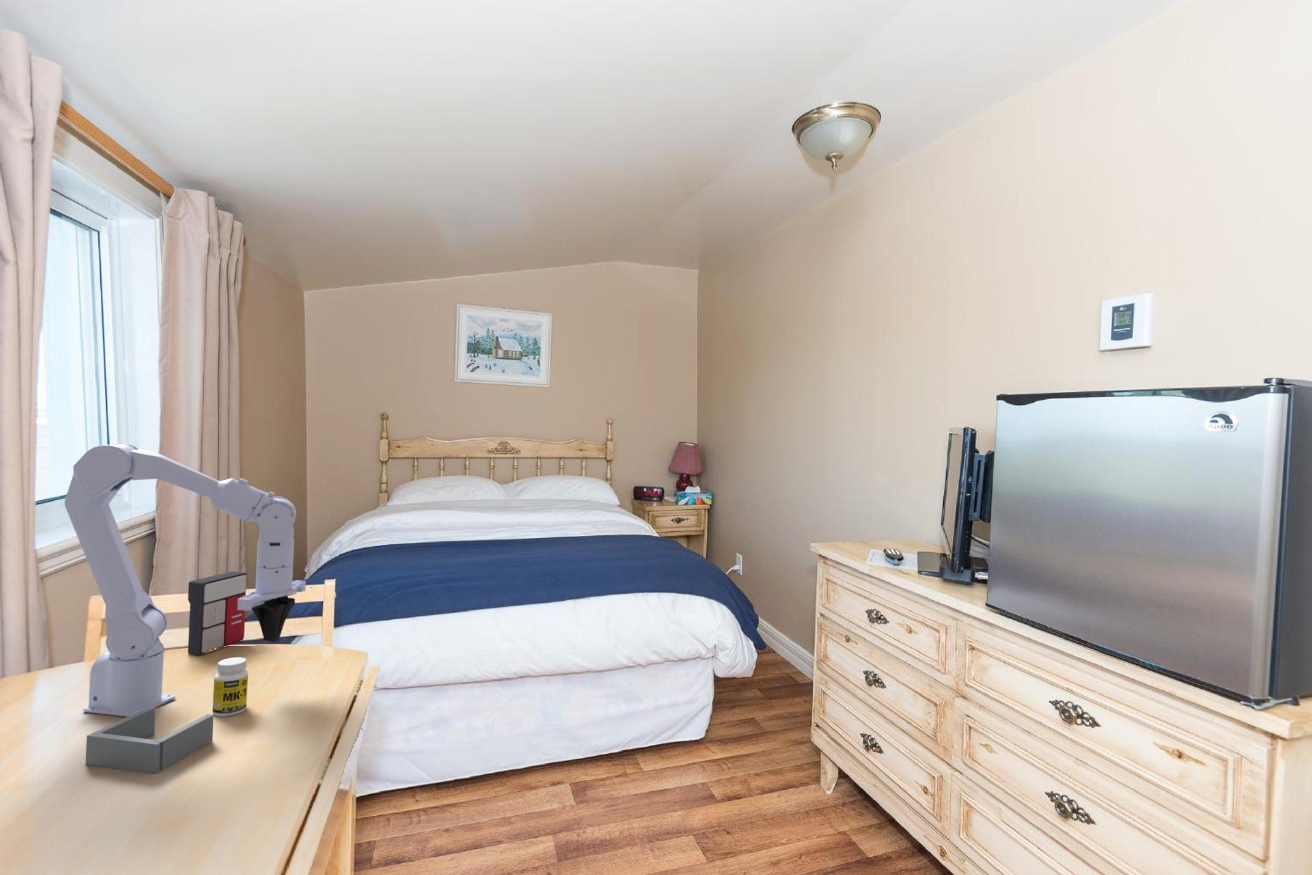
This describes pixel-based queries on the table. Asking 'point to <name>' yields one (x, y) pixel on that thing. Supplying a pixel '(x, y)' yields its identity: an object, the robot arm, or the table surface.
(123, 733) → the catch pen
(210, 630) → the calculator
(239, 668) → the supplement bottle
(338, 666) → the table surface
